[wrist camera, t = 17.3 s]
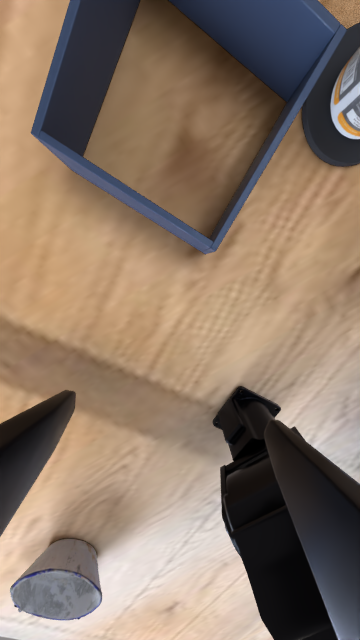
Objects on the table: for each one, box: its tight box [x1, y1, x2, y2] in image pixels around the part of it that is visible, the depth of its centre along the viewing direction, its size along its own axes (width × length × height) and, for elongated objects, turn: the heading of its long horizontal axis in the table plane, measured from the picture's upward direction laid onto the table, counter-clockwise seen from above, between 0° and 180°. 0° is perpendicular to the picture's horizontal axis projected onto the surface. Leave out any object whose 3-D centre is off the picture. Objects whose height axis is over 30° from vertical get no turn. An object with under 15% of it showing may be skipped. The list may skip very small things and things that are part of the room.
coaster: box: [302, 23, 360, 167], centre depth 16 cm, size 9×9×1 cm
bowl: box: [10, 539, 102, 620], centre depth 30 cm, size 13×13×5 cm
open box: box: [31, 0, 347, 254], centre depth 14 cm, size 14×14×5 cm
